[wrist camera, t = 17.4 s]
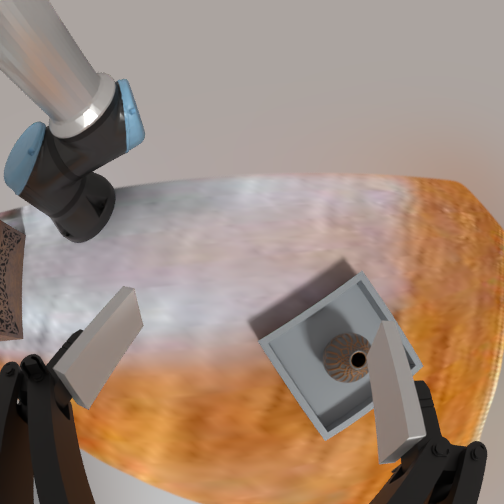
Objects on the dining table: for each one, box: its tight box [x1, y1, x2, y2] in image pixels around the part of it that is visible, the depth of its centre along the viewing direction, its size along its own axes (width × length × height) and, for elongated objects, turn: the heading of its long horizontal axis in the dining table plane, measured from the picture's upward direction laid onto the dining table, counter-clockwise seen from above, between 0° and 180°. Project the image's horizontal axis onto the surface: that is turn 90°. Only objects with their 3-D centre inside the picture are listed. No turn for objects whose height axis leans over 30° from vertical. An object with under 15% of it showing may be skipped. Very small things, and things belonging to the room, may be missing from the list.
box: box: [258, 271, 423, 441], centre depth 36 cm, size 18×18×4 cm
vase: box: [323, 333, 371, 383], centre depth 33 cm, size 7×7×9 cm
